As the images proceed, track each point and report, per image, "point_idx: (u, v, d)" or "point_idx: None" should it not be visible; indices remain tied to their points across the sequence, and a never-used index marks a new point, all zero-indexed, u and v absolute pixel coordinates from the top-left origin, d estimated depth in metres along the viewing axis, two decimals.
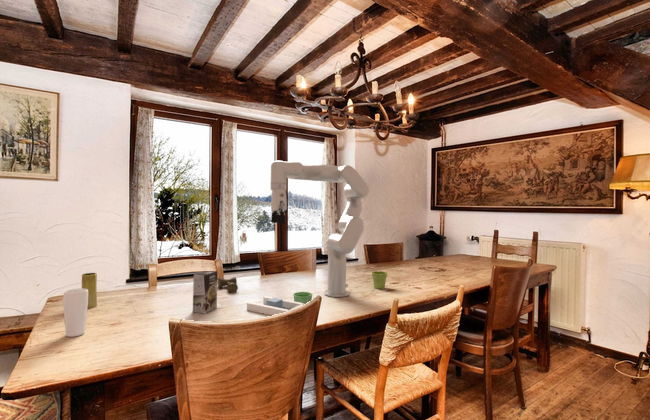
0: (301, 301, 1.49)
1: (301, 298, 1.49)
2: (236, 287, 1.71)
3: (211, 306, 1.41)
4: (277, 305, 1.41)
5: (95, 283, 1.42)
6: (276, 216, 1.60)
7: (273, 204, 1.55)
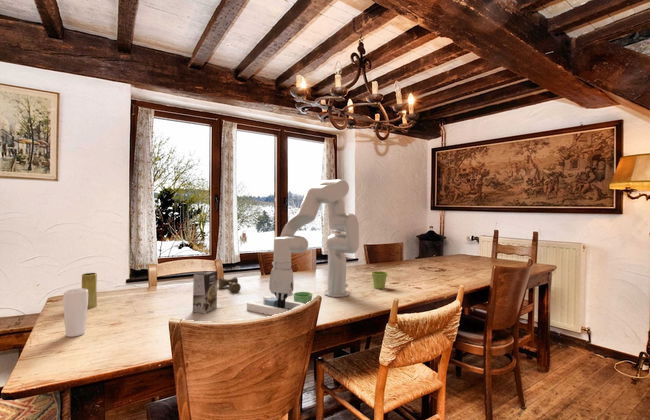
0: (301, 301, 1.49)
1: (301, 298, 1.49)
2: (239, 287, 1.71)
3: (211, 306, 1.41)
4: (275, 304, 1.41)
5: (95, 283, 1.42)
6: None
7: None
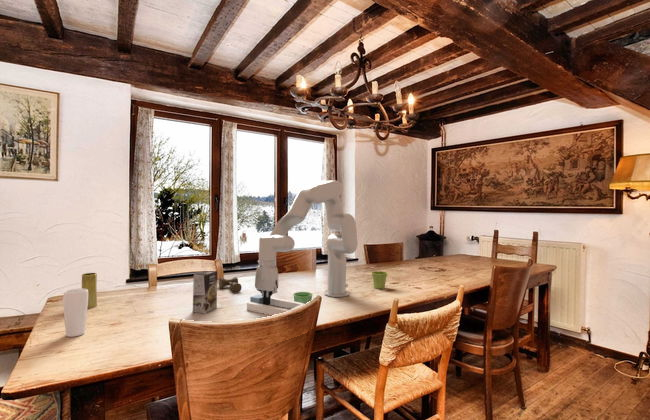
0: (301, 301, 1.49)
1: (301, 298, 1.49)
2: (240, 287, 1.71)
3: (211, 306, 1.41)
4: (261, 301, 1.45)
5: (95, 283, 1.42)
6: None
7: None
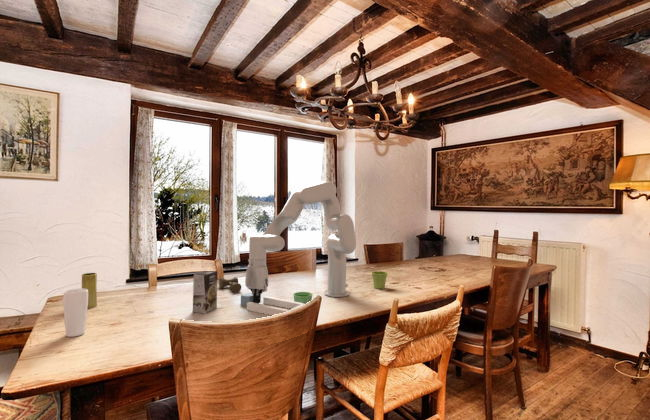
0: (301, 301, 1.49)
1: (301, 298, 1.49)
2: (240, 287, 1.71)
3: (211, 306, 1.41)
4: (251, 299, 1.48)
5: (95, 283, 1.42)
6: None
7: None
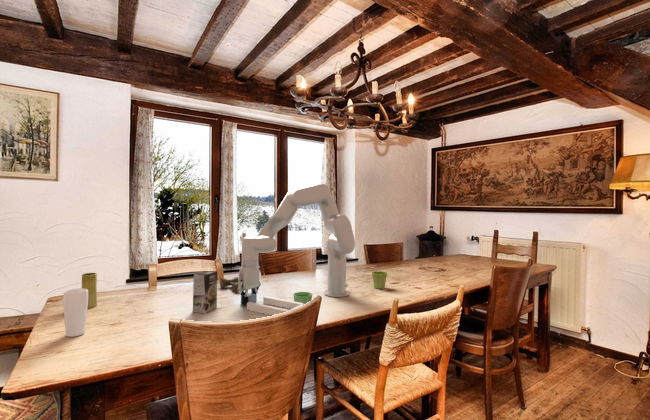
0: (301, 301, 1.49)
1: (301, 298, 1.49)
2: None
3: (211, 306, 1.41)
4: (251, 299, 1.48)
5: (95, 283, 1.42)
6: None
7: (253, 282, 1.49)
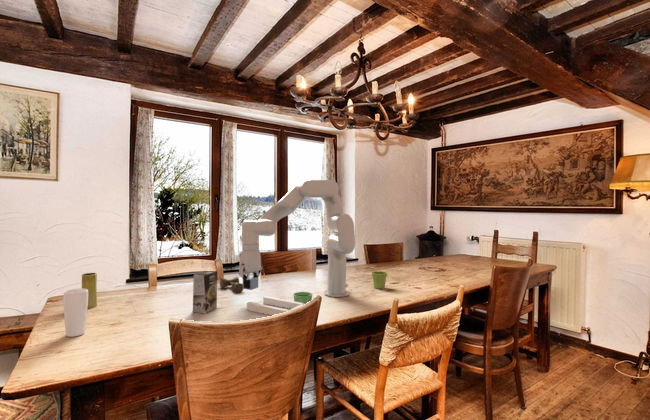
0: (301, 301, 1.49)
1: (301, 298, 1.49)
2: (242, 287, 1.71)
3: (211, 306, 1.41)
4: (253, 283, 1.48)
5: (95, 283, 1.42)
6: None
7: (254, 265, 1.49)
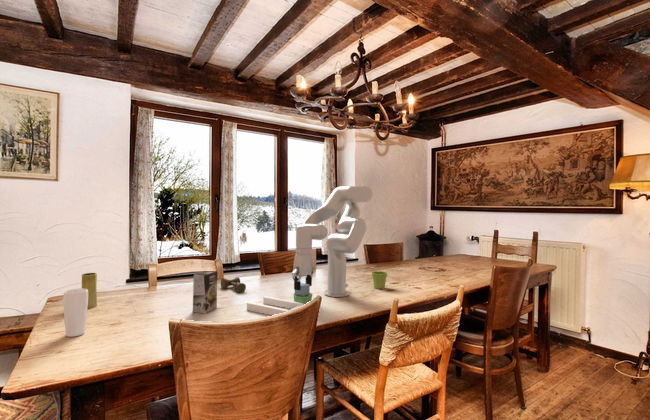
0: (301, 301, 1.49)
1: (301, 298, 1.49)
2: (244, 287, 1.72)
3: (211, 306, 1.41)
4: (305, 289, 1.51)
5: (95, 283, 1.42)
6: None
7: (307, 269, 1.52)
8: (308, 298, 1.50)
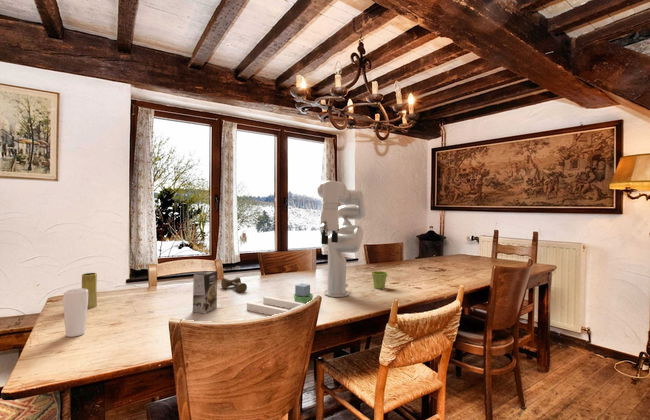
0: (302, 302, 1.48)
1: (302, 299, 1.48)
2: (245, 287, 1.72)
3: (211, 306, 1.41)
4: (305, 290, 1.50)
5: (95, 283, 1.42)
6: None
7: (334, 224, 1.53)
8: (309, 299, 1.49)
